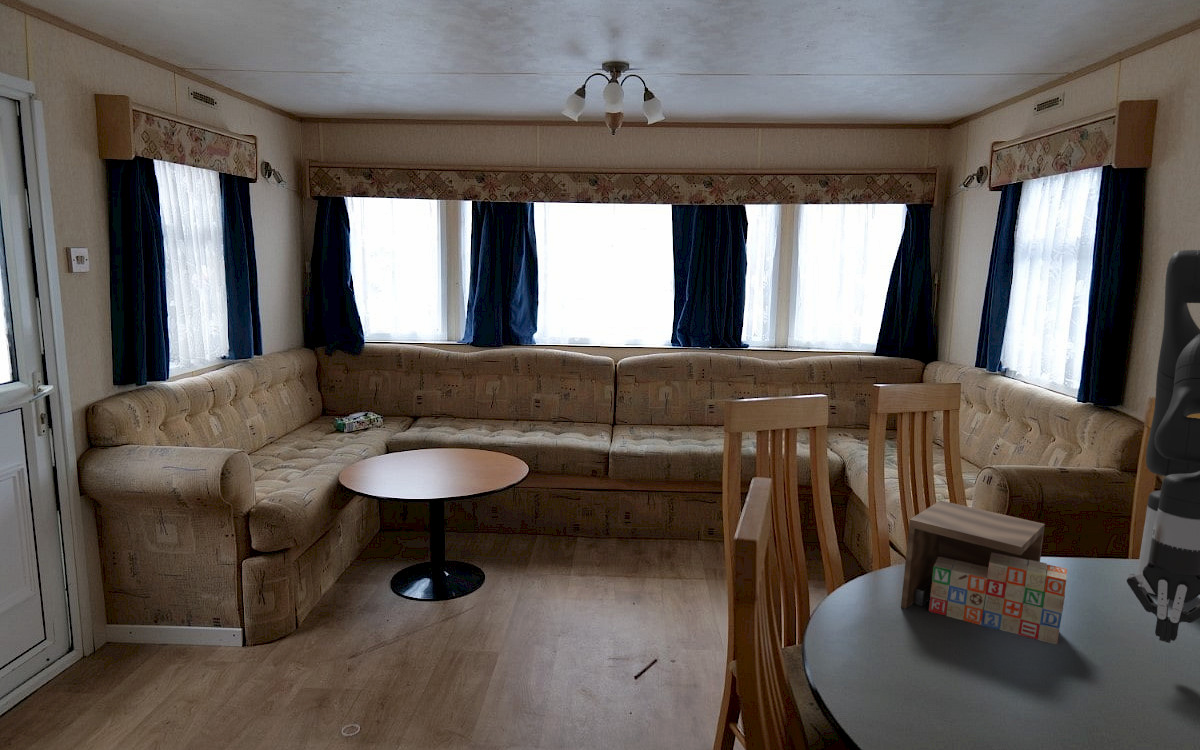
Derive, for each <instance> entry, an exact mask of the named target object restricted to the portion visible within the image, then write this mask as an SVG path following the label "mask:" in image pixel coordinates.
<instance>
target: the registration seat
mask: <svg viewBox="0 0 1200 750" xmlns="http://www.w3.org/2000/svg"><path fill="white" fill-rule="evenodd" d="M932 576H933V575H932ZM932 576H931V577H930V578H928V579H927V580H926V581H925V582H924V583H922V584H921V585H920V586H919V587H917V588H916V590H915V600H914V603H915V604H914V603H913V604H914V605H917V606H920V605H921V606H920V607H923V606H925V604H926V603H927V602H928V601H930V600H929V599H930V597H931V596H930V594H931V586H932Z"/></svg>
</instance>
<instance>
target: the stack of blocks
mask: <svg viewBox="0 0 1200 750" xmlns="http://www.w3.org/2000/svg"><path fill="white" fill-rule="evenodd" d="M1067 576H1068V569H1067V568H1065V567H1061V566H1055V565H1051V564H1048V563H1047V562H1041V561H1040V562H1038V561H1033V560H1026V559H1022V558H1017V557H1012V556H1010V557H1009V556H1007V555H1002V554H997V553H991V556H990V561H989V567H984V566H980V565H975V564H971V563H967V562H962V561H958V560H953V559H948V558H944V557H938V558H937V560H936V563H935V565H934V567H933V576H932V586H931V594H930V596H931V597H930V600H929V604H928V605H929V606H928V612H930V613H933V614H938V615H942V616H946V617H949V618H953V619H956V620H960V621H964V622H967V623H972V624H974V625H975V624H976V625H979V626H983V627H988V628H992V629H996V630H1001V631H1004V632H1007V633H1012V634H1016V635H1018V636H1023V637H1026V638H1030V639H1034V640H1037V641H1041V642H1046V643H1049V644H1053V645H1058V642H1059V636H1060V635H1059V634H1060V628H1061V622H1062V617H1063V615H1062V614H1063V610H1064V605H1065V599H1066V598H1065V597H1066V586H1067Z"/></svg>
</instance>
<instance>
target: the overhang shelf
mask: <svg viewBox="0 0 1200 750" xmlns="http://www.w3.org/2000/svg"><path fill="white" fill-rule="evenodd" d="M908 524H909V525H908V535H907V543H906V544H907V545H906V553H905V561H904V562H905V564H904V573H903V583H902V591H901V592H902V593H901V601H900V602H901V603H900V608H902V607H903V608H902V609H905V610H906V608H907V609H908V608H909V607H910V606H912V603H913V602H914V600H915V590H916V588H917V587H919V586H920V585H921V584H922V583H924V582H925V581H926V580H927V579H928V578H930V577H931V576H932V575H933V567H934V565H935V563H936V560H937V558H938V557H944V558H948V559H953V560H958V561H962V562H967V563H971V564H975V565H980V566H984V567H989V561H990V556H991V553H997V554H1002V555H1007V556H1009V557H1010V556H1012V557H1017V558H1022V559H1026V560H1033V561H1038V562H1041V558H1042V557H1041V556H1042V550H1043V549H1042V548H1043V547H1042V546H1043V541H1044V534H1045V533H1044V532H1045V527H1046V526H1045V525H1046V524H1045V523H1042V522H1038V521H1033V520H1029V519H1024V518H1019V517H1016V516H1011V515H1006V514H1002V513H999V512H993V511H990V510H985V509H982V508H981V509H980V508H975V507H971V506H967V505H962V504H958V503H953V502H949V501H945V500H938V501H937V502H935V503H934V504H933V505H930V506H929V507H927V508H926V509H923V510H922V511H921V512H920V513H917V514H916V515H914V516H913V517H911V518H910V519H909V523H908ZM913 604H914V603H913Z"/></svg>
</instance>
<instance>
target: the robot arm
mask: <svg viewBox="0 0 1200 750" xmlns="http://www.w3.org/2000/svg"><path fill="white" fill-rule="evenodd" d="M1164 285H1165V286H1164V288H1165V290H1164V316H1163V319H1164V320H1163V329H1162V331H1163V332H1162V336H1161V337H1162V338H1161V345H1160V351H1159V356H1158V357H1159V358H1158V362H1157V373H1156V382H1155V383H1156V384H1155V397H1154V400H1155V401H1154V410H1153V415H1152V422H1151V426H1150V431H1149V435H1148V441H1147V447H1146V452H1145V453H1146V454H1145V464H1146V467H1147V469H1148V471H1150V473H1153V474H1156V475H1159V476H1163V479H1162V482H1161V487H1160V490H1159V489H1158V490H1155V491H1151V492H1150V494H1149V495H1148V499H1147V506H1146V512H1145V520H1144V526H1143V533H1142V540H1141V545H1140V553H1139V558H1138V559H1139V560H1138V565H1137V572H1136V574H1134V573H1130V574H1129V575H1128V577H1127V579H1126V584H1127V585H1128V586H1129V588H1130V589H1131V592H1133V594H1134V595H1135V596H1136V598H1137V600H1138V601H1139V603H1140V604H1141V606H1142V607H1143V609H1144V610H1145V611H1146V612H1147V613H1152V614H1153V615H1155V617H1156V619H1157V620H1156V624H1155V630H1154V631H1155V632H1154V633H1155V636H1156V637H1158V641H1160V642H1164V643H1168V644H1171V641H1173V642H1175V641H1176V639H1177V637H1178V633H1179V628H1180V627H1179V626H1180V624H1181V623H1188V624H1191V623H1194V622H1195V621H1196V620H1198V619H1200V603H1198V604H1197V605H1195V606H1194V607H1191V608H1190V609H1189V610H1187V611H1183V609H1184V604H1185V603H1190V602H1191V601H1192V600H1195V598H1197V597H1199V596H1200V418H1198V417H1189V416H1191V415H1197V414H1200V328H1199V327H1198V325H1197V323H1196V322H1195V321H1194V319H1193V317H1192V315H1191V312H1190V309H1189V307H1188V304H1200V249H1183V250H1179V251H1176V252H1173V254H1172V255H1171V257H1170V258H1169V261H1168V263H1167V268H1166V274H1165V284H1164ZM1150 594H1152V595H1154V596H1157V601H1156V602H1157V603H1155V601H1154V599H1153V598H1152V597H1151V595H1150ZM1170 600H1171V601H1173V603H1172V608H1171V612H1170V616H1168V615H1169V604H1170V603H1169V601H1170Z"/></svg>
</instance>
